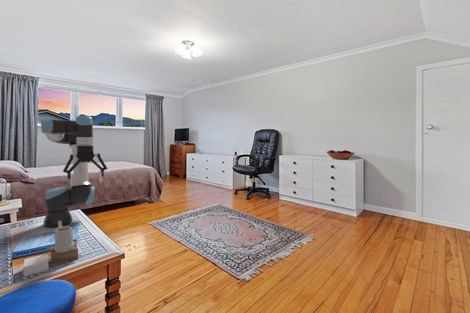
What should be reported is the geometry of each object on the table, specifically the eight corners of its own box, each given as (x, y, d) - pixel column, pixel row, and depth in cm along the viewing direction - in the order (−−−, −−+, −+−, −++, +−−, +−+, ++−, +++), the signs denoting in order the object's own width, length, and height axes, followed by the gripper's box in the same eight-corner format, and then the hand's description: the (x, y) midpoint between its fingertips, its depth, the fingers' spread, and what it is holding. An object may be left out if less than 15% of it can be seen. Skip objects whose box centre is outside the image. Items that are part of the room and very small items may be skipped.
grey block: (25, 268, 102) (24, 259, 102) (48, 261, 107) (47, 253, 107) (23, 276, 96) (23, 267, 96) (48, 269, 101) (48, 260, 101)
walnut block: (50, 256, 112) (50, 246, 111) (76, 250, 118) (75, 241, 117) (51, 265, 104) (50, 255, 103) (78, 258, 110) (77, 248, 110)
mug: (56, 255, 104) (55, 228, 103) (49, 246, 111) (48, 222, 110) (76, 248, 109) (75, 224, 108) (68, 241, 117) (67, 218, 116)
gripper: (56, 145, 116) (58, 187, 117) (112, 145, 131) (113, 182, 133) (55, 145, 121) (57, 185, 123) (109, 144, 137) (110, 180, 139)
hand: (86, 183), depth 128 cm, fingers open, 13 cm apart
